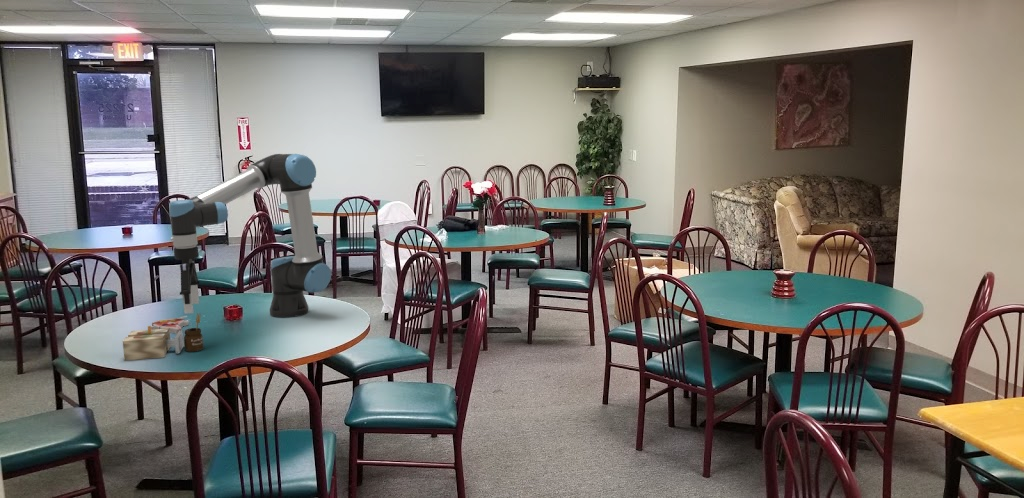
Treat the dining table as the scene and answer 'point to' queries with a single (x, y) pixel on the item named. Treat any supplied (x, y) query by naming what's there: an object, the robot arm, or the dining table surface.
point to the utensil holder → (193, 338)
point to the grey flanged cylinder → (173, 341)
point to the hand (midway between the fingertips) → (192, 308)
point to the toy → (170, 324)
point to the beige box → (146, 344)
